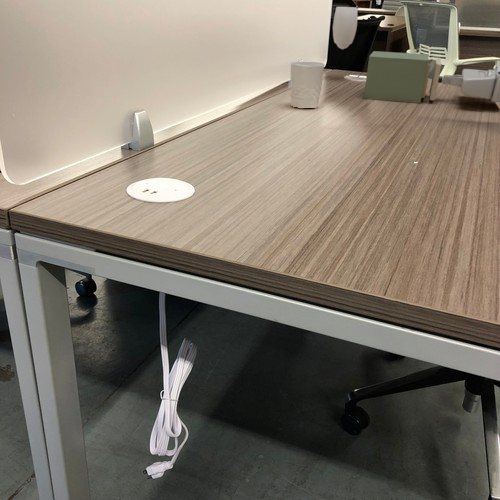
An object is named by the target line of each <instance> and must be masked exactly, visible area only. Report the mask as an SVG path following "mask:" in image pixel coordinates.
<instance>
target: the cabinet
mask: <svg viewBox="0 0 500 500" xmlns="http://www.w3.org/2000/svg"><path fill="white" fill-rule="evenodd" d="M428 59H429V54H428V53H427V54H425V53H408V52H393V51H376V50H373V51H372V53H370V55H369V56H368V64H367V70H366V78H365V85H364V93H363V99H367V100H368V99H369V100H379V101H390V102H391V101H392V102H403V103H415V104H421V102H422V92H423V87H424V81H425V76H426V70H427V65H428Z"/></svg>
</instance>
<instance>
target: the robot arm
mask: <svg viewBox="0 0 500 500" xmlns="http://www.w3.org/2000/svg"><path fill="white" fill-rule="evenodd" d="M441 84H444V85H451V86H455V87H460V88H459V89H460V91H459V92H460V94H461V95H464V96H469V97H473V98H480V99H487V100H488V101H489V102H491V103H492V102H493V103H500V64H497V65H496V66H495V68H494V69H488V70H481V69H475V68H474V69H472V68H463V69H462V72H461V74H444V75H443V79H442V83H441Z"/></svg>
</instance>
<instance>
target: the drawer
mask: <svg viewBox="0 0 500 500" xmlns="http://www.w3.org/2000/svg"><path fill="white" fill-rule="evenodd" d="M434 61H435V62H434V66H433V70H432V77H431V82H430V87H429V101H435V100H436V95H437V90H438V84H443V83H442V81H443V76H444V75H443V76H442V75H440V74H441V69H442V61H441V58H435V60H434ZM431 66H432V65H431V59H429V58H428V65H427V70H426V76H425V81H424V87H423V92H422V98H423V99H425V98H426V93H427V88H428V81H429V77H430V72H431V71H430V70H431ZM422 98H421V99H422Z"/></svg>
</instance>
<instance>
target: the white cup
mask: <svg viewBox="0 0 500 500" xmlns="http://www.w3.org/2000/svg"><path fill="white" fill-rule="evenodd" d="M324 71H325V63H323V62H318V61H310V60H309V61H308V60H307V61H306V60H301V61H300V60H298V61H297V60H296V61H292V62H290V86H289V87H290V88H289V89H290V107H292V106H293V107H292V108H294V107H298V108H315V109H318V108H319V103H320V97H321V91H322V85H323V78H324ZM317 107H318V108H317ZM298 108H297V109H298Z"/></svg>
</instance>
